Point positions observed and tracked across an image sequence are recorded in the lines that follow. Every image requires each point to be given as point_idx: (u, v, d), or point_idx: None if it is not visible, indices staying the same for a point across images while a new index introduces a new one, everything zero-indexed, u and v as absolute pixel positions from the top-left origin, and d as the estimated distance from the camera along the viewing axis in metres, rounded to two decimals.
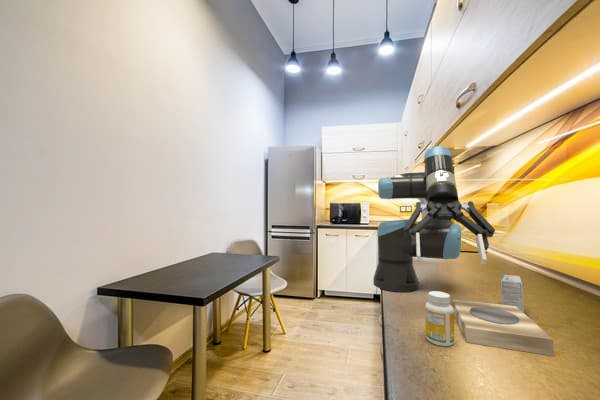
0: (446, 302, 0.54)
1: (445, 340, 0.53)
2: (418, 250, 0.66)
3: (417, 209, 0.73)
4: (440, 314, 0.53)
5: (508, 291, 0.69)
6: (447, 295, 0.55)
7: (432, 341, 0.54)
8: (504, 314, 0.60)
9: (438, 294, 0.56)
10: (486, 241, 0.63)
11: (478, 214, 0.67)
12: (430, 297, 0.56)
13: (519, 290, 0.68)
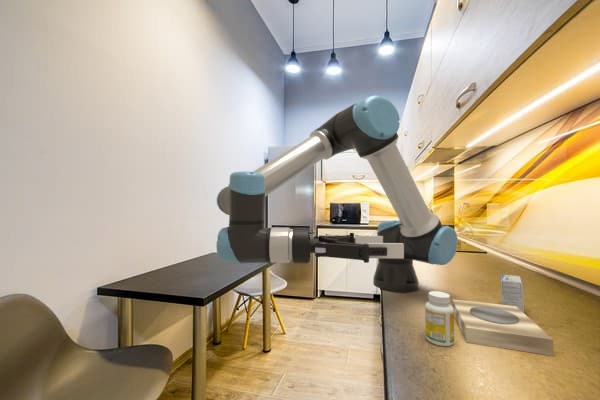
0: (446, 302, 0.54)
1: (445, 340, 0.53)
2: None
3: None
4: (440, 314, 0.53)
5: (508, 291, 0.69)
6: (447, 295, 0.55)
7: (432, 341, 0.54)
8: (504, 314, 0.60)
9: (438, 294, 0.56)
10: (378, 255, 0.49)
11: None
12: (430, 297, 0.56)
13: (519, 290, 0.68)
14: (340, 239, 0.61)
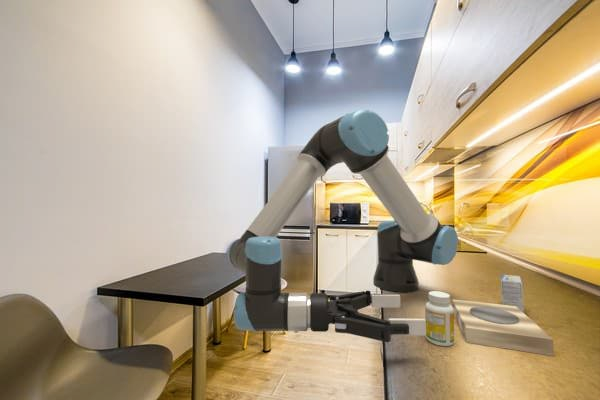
0: (446, 302, 0.54)
1: (445, 340, 0.53)
2: None
3: None
4: (440, 314, 0.53)
5: (508, 291, 0.69)
6: (447, 295, 0.55)
7: (432, 341, 0.54)
8: (504, 314, 0.60)
9: (438, 294, 0.56)
10: None
11: None
12: (430, 297, 0.56)
13: (519, 290, 0.68)
14: (357, 301, 0.60)
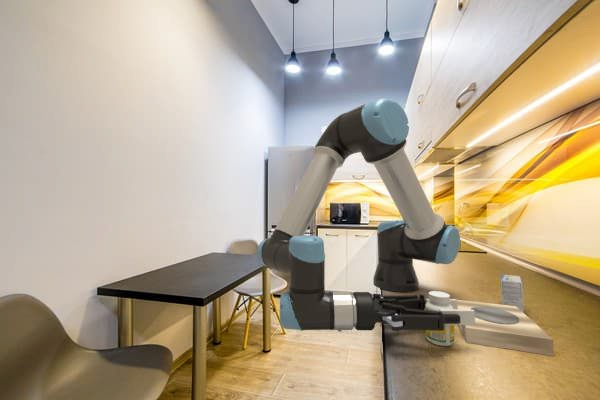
0: (446, 302, 0.54)
1: (445, 340, 0.53)
2: None
3: None
4: None
5: (508, 291, 0.69)
6: (447, 295, 0.55)
7: (432, 341, 0.54)
8: (504, 314, 0.60)
9: (438, 294, 0.56)
10: None
11: None
12: (430, 297, 0.56)
13: (519, 290, 0.68)
14: (405, 303, 0.58)
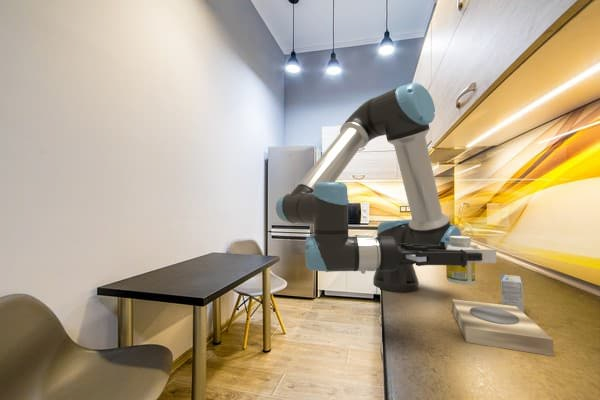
0: (467, 243, 0.56)
1: (467, 278, 0.55)
2: None
3: None
4: None
5: (508, 291, 0.69)
6: (468, 237, 0.57)
7: (454, 281, 0.56)
8: (504, 314, 0.60)
9: (459, 237, 0.57)
10: (474, 260, 0.53)
11: None
12: (451, 239, 0.57)
13: (519, 290, 0.68)
14: (426, 248, 0.60)
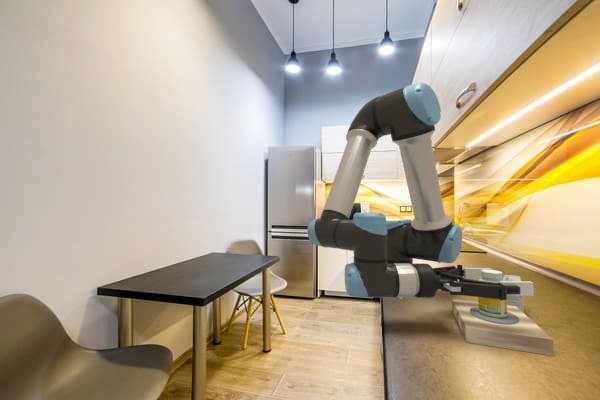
0: (500, 278, 0.59)
1: (500, 312, 0.58)
2: None
3: None
4: None
5: None
6: (499, 272, 0.60)
7: (487, 313, 0.59)
8: None
9: (491, 271, 0.61)
10: None
11: None
12: (483, 274, 0.61)
13: None
14: (452, 272, 0.65)
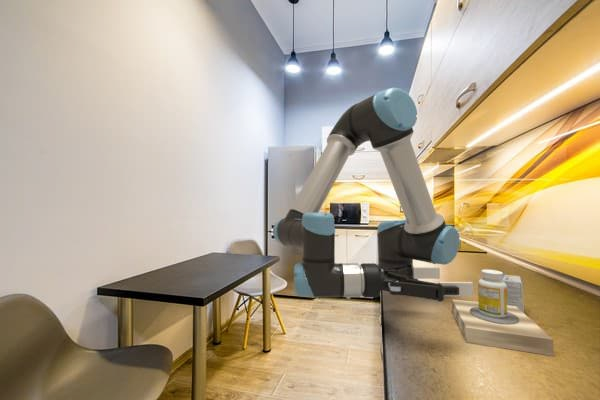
0: (500, 278, 0.59)
1: (500, 312, 0.58)
2: None
3: None
4: (494, 289, 0.58)
5: (508, 291, 0.69)
6: (500, 272, 0.60)
7: (487, 314, 0.59)
8: None
9: (491, 271, 0.61)
10: None
11: None
12: (484, 274, 0.61)
13: (519, 290, 0.68)
14: (401, 272, 0.66)
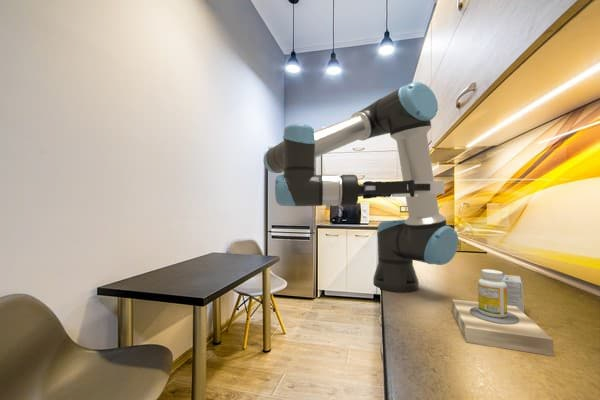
0: (500, 278, 0.59)
1: (500, 312, 0.58)
2: None
3: None
4: (494, 288, 0.59)
5: (508, 291, 0.69)
6: (500, 272, 0.60)
7: (486, 313, 0.59)
8: None
9: (491, 271, 0.61)
10: (422, 190, 0.56)
11: (386, 193, 0.57)
12: (484, 274, 0.61)
13: (519, 290, 0.68)
14: None
